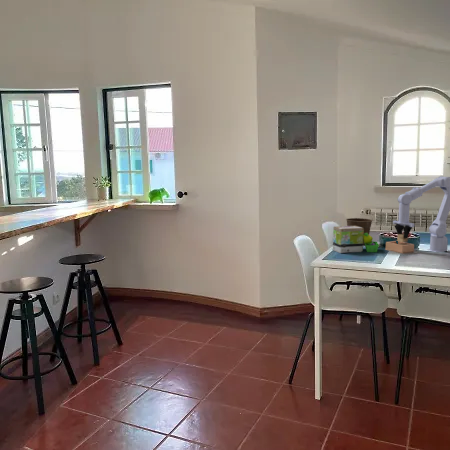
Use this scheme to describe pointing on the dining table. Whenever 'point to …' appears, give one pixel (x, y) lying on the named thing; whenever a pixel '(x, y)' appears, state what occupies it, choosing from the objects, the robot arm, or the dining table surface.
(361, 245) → the tea box
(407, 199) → the robot arm
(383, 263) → the dining table surface
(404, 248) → the terracotta box
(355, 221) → the plant pot
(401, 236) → the oak block
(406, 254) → the slate tray
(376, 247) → the fruit basket
